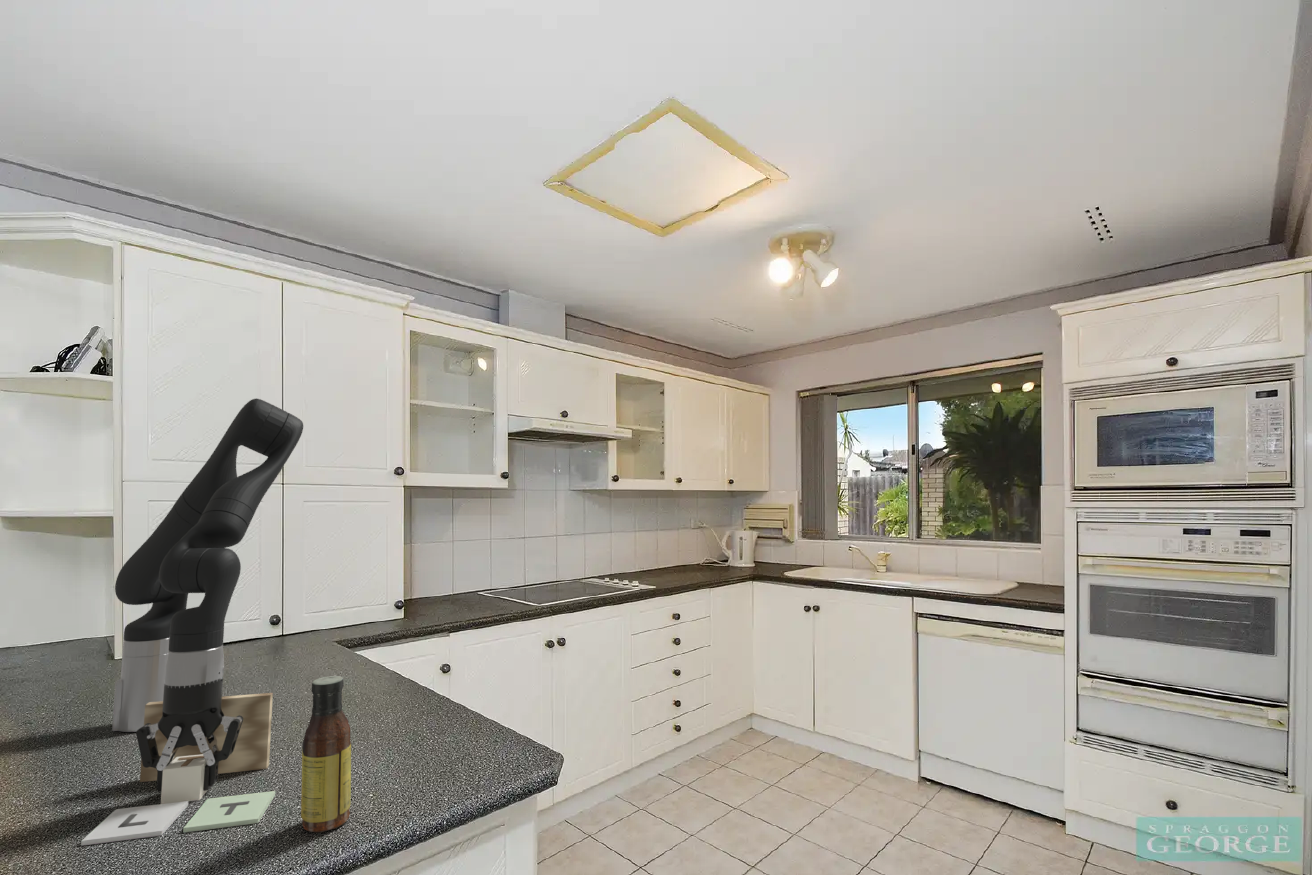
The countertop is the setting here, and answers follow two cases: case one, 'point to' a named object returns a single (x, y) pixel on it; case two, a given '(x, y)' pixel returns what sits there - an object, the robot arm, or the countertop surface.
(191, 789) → the cube
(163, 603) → the robot arm
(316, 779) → the sauce bottle
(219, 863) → the countertop surface
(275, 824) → the countertop surface
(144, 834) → the board
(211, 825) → the board
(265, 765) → the thin wooden plank
